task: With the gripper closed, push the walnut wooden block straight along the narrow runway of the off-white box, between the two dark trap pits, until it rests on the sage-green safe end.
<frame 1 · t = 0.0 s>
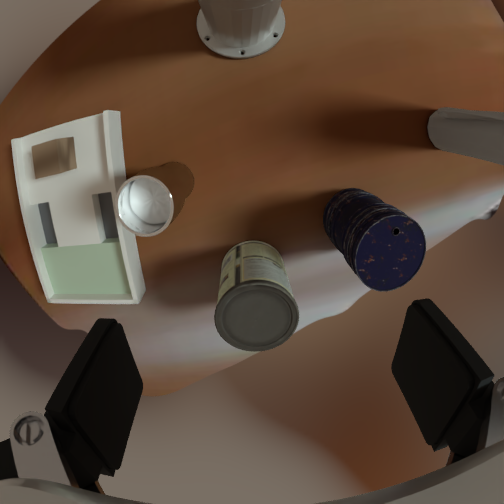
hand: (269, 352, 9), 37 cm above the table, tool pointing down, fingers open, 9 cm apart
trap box: (79, 211, 44), on the table
coffee can: (253, 268, 49), on the table
water bottle: (436, 126, 40), on the table
storage jar: (351, 217, 46), on the table
walnut block: (62, 155, 38), point 2 cm above the table, touching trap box
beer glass: (174, 181, 43), on the table
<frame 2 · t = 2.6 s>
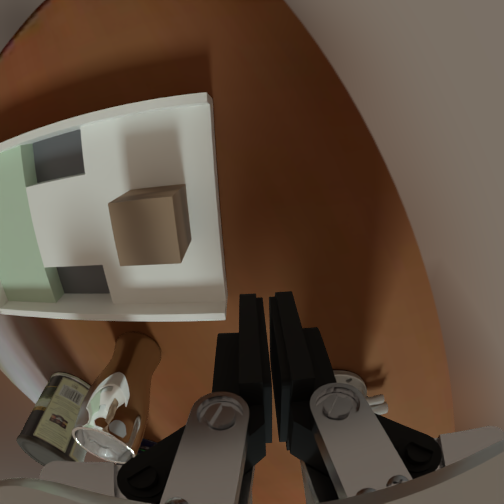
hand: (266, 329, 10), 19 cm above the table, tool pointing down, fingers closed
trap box: (80, 216, 28), on the table
coffee can: (76, 393, 39), on the table
walnut block: (160, 214, 25), point 2 cm above the table, touching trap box
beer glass: (139, 349, 35), on the table
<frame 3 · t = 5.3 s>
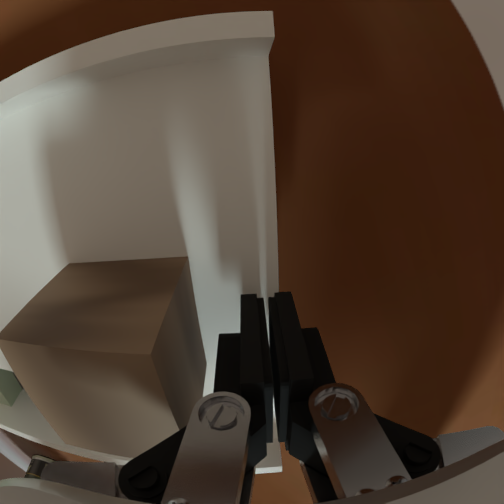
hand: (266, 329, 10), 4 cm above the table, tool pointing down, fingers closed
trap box: (15, 290, 13), on the table
coffee can: (66, 474, 25), on the table
walnut block: (137, 317, 11), point 2 cm above the table, touching gripper, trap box
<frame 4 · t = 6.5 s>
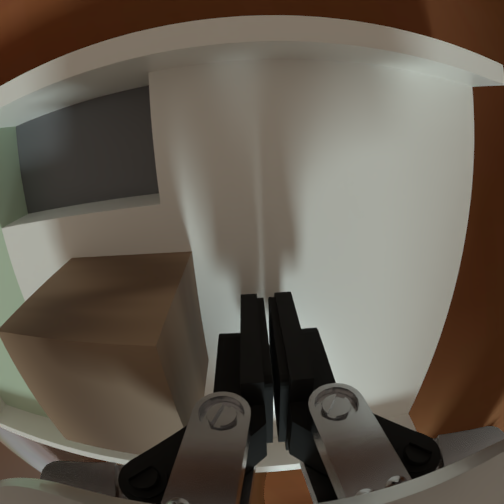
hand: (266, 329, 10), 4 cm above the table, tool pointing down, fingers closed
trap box: (131, 289, 14), on the table
walnut block: (139, 312, 11), point 3 cm above the table, touching gripper
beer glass: (231, 462, 21), on the table
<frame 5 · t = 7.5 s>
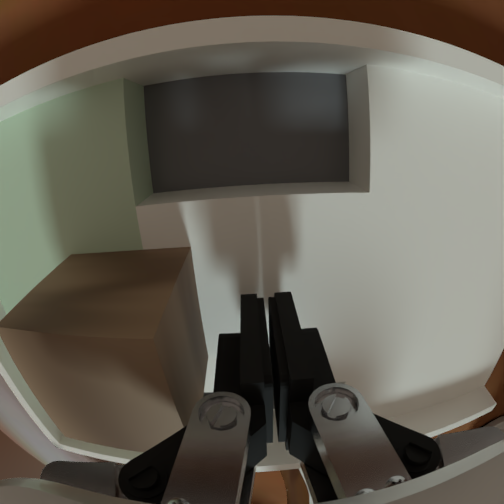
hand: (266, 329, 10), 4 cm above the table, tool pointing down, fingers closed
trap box: (279, 281, 14), on the table
walnut block: (139, 309, 11), point 2 cm above the table, touching gripper, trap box
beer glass: (313, 455, 21), on the table
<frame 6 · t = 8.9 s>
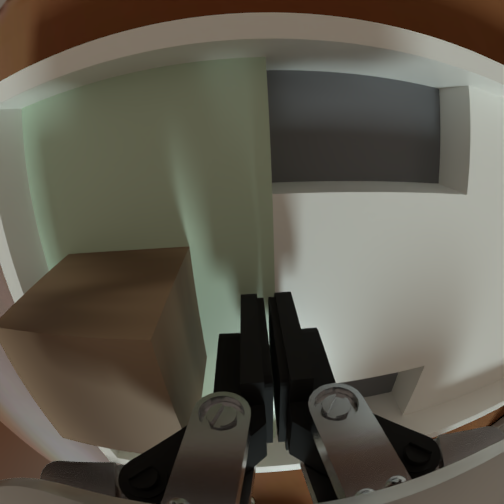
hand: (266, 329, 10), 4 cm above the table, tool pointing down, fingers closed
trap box: (373, 273, 14), on the table
walnut block: (137, 309, 11), point 2 cm above the table, touching gripper, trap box
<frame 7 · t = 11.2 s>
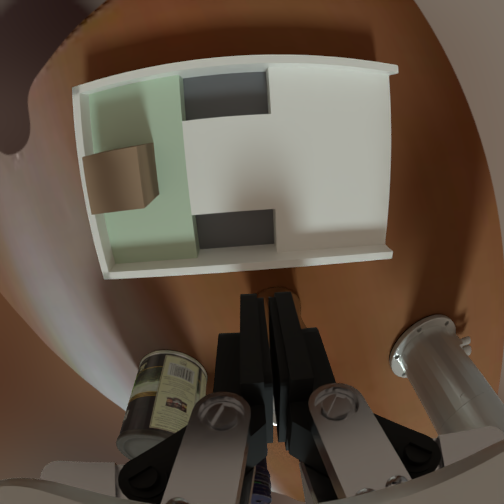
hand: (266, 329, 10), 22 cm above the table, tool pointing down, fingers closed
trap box: (240, 160, 29), on the table
coffee can: (173, 373, 40), on the table
water bottle: (316, 456, 54), on the table
storage jar: (237, 429, 47), on the table
walnut block: (131, 171, 26), point 2 cm above the table, touching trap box
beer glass: (275, 307, 36), on the table
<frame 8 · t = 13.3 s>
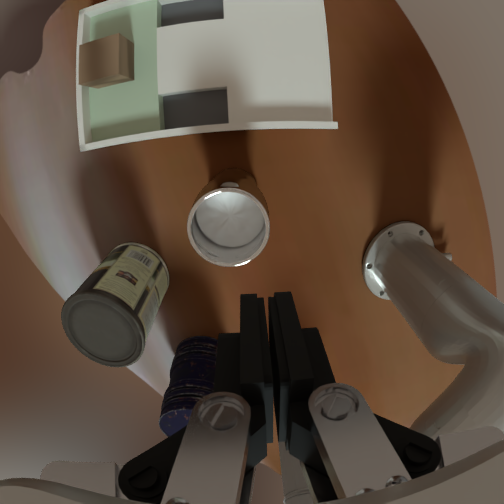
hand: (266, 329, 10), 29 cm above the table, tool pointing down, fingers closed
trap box: (201, 58, 31), on the table
coffee can: (137, 274, 42), on the table
water bottle: (295, 408, 54), on the table
storage jar: (204, 357, 48), on the table
walnut block: (115, 65, 28), point 2 cm above the table, touching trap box
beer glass: (233, 191, 38), on the table
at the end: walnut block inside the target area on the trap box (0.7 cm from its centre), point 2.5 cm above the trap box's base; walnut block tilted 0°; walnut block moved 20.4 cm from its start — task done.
